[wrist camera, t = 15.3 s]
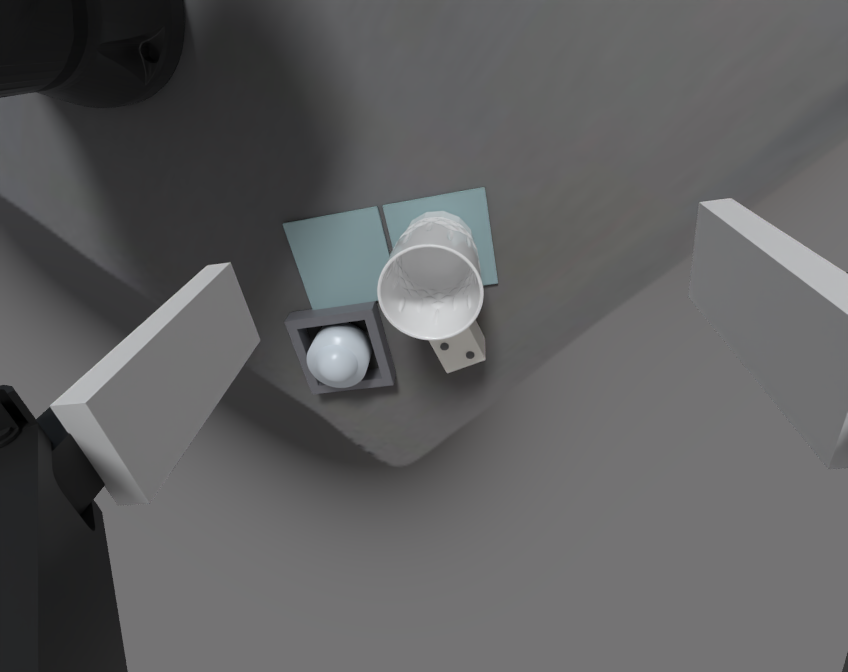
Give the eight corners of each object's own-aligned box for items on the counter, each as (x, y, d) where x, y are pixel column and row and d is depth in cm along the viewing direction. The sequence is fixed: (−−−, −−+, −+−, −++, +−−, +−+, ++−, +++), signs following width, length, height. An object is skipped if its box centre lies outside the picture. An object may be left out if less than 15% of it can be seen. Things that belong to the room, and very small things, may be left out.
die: (431, 320, 50) (428, 341, 46) (468, 305, 49) (468, 326, 45) (448, 351, 52) (447, 374, 48) (484, 337, 50) (485, 360, 47)
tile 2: (383, 205, 44) (382, 206, 44) (484, 186, 43) (484, 187, 43) (405, 295, 49) (404, 296, 49) (497, 281, 47) (498, 283, 47)
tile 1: (283, 222, 46) (282, 223, 46) (377, 206, 44) (377, 207, 44) (313, 308, 50) (312, 310, 50) (400, 296, 49) (399, 297, 49)
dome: (307, 326, 51) (292, 351, 47) (363, 318, 50) (354, 343, 46) (324, 373, 54) (312, 401, 50) (378, 367, 53) (370, 394, 49)
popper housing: (290, 312, 51) (284, 321, 49) (375, 299, 49) (371, 309, 48) (317, 383, 55) (312, 394, 54) (396, 373, 54) (393, 385, 52)
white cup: (496, 222, 44) (501, 267, 35) (462, 297, 48) (459, 354, 39) (411, 190, 43) (395, 228, 35) (384, 268, 47) (364, 320, 39)
